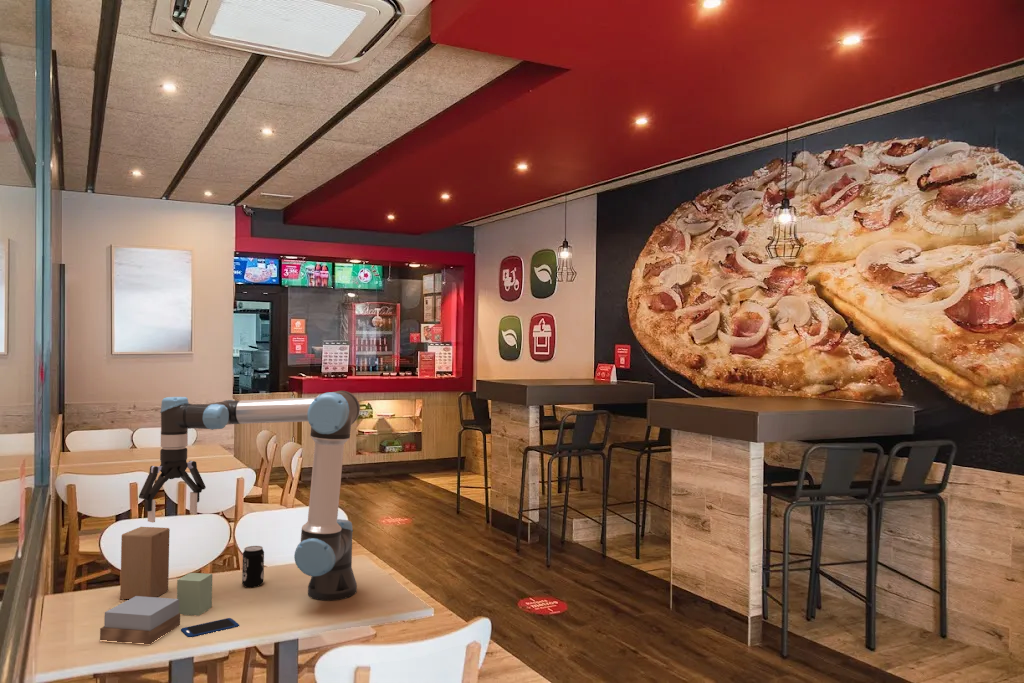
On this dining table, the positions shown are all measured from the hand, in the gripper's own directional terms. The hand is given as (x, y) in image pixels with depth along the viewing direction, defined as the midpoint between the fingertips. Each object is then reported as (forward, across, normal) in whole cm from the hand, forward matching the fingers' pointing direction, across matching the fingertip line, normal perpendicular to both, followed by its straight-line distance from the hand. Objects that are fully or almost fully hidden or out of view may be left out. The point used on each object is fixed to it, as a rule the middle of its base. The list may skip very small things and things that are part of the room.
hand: (172, 517), depth 227 cm
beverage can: (+26, -24, +6) cm, 36 cm away
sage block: (+26, +1, +13) cm, 28 cm away
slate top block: (+22, +19, +17) cm, 33 cm away
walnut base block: (+26, +19, +17) cm, 36 cm away
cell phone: (+26, +6, +28) cm, 39 cm away
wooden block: (+26, +2, -11) cm, 28 cm away
